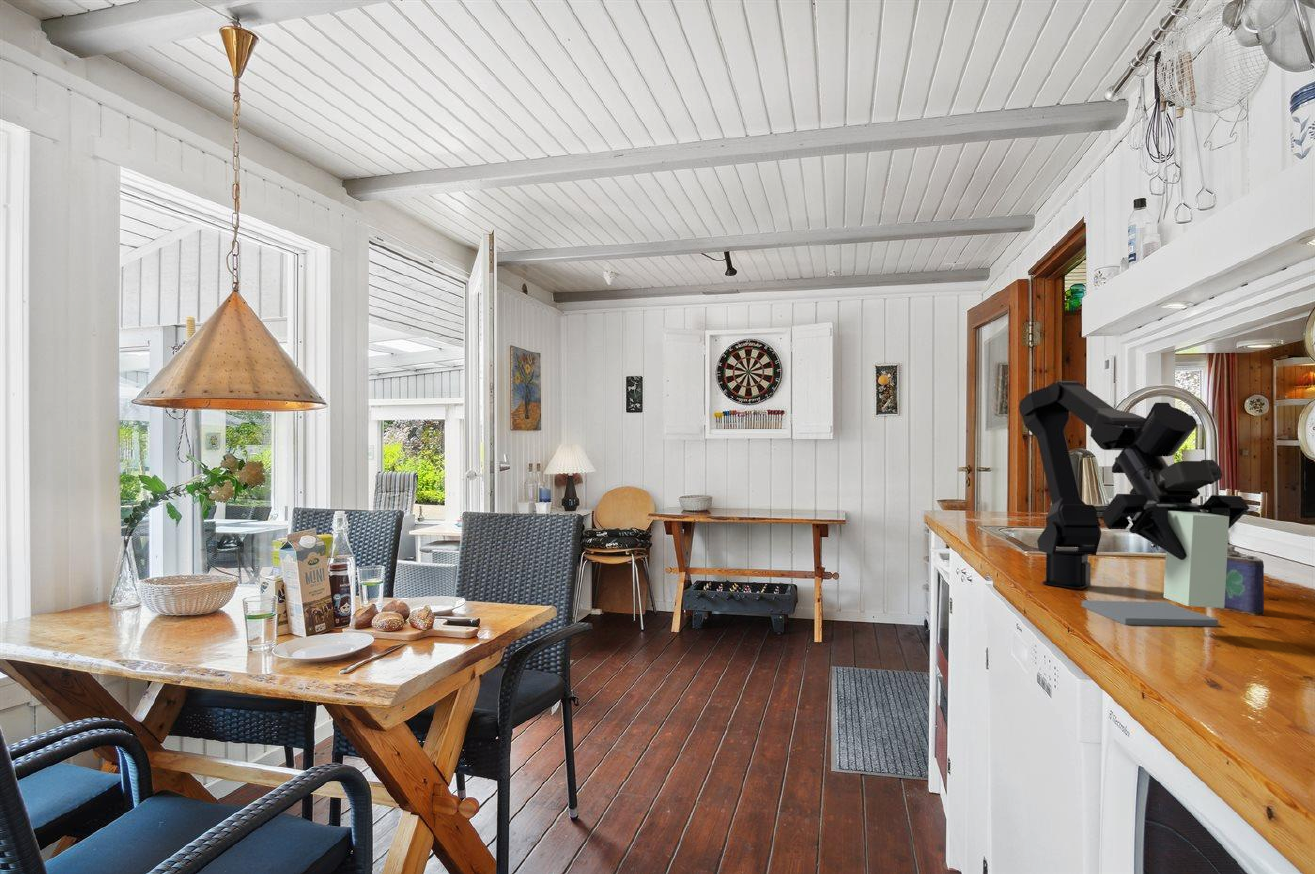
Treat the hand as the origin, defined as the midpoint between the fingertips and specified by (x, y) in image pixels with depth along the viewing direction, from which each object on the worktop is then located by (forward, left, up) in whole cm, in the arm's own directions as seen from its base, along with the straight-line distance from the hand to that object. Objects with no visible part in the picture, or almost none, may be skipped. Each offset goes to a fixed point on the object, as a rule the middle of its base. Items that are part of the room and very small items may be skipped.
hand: (1202, 558), depth 99 cm
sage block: (-1, +1, -7) cm, 7 cm away
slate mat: (-9, +7, -11) cm, 16 cm away
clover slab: (-2, +25, -12) cm, 27 cm away
